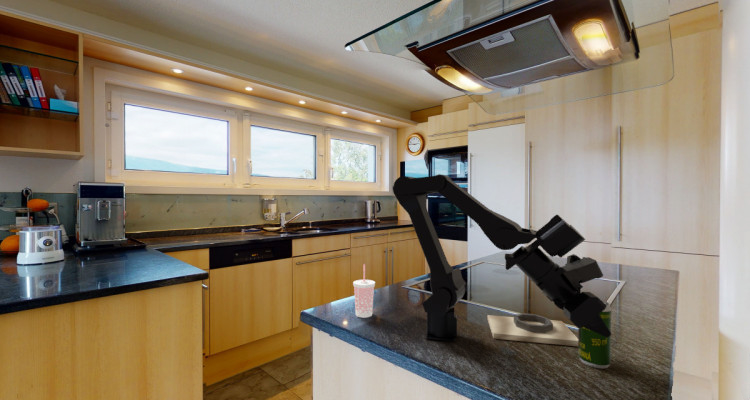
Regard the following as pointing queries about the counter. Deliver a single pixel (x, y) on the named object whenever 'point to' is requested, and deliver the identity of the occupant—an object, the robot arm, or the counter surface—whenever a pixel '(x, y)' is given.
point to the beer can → (596, 343)
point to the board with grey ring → (531, 329)
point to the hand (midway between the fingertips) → (602, 329)
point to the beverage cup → (364, 296)
